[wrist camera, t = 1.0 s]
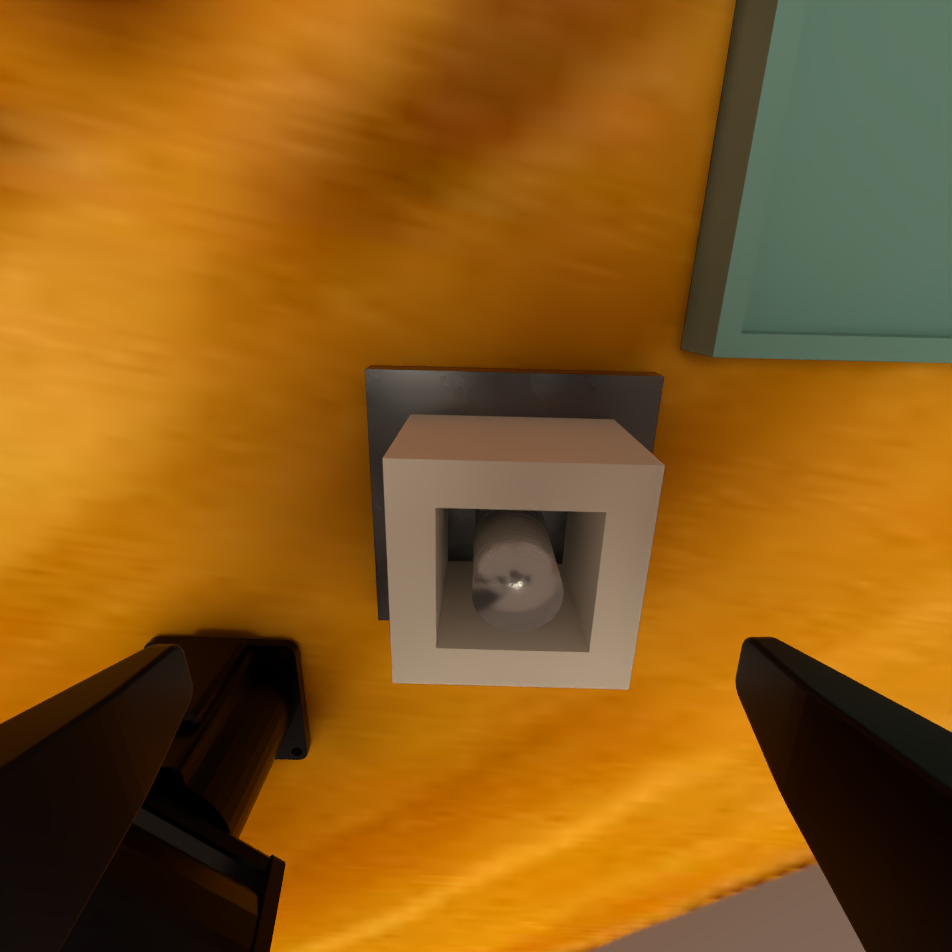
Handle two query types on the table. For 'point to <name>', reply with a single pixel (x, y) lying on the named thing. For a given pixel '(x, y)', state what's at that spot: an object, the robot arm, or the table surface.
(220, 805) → the robot arm
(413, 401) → the metal post stand
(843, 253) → the tray
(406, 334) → the table surface
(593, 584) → the collar
